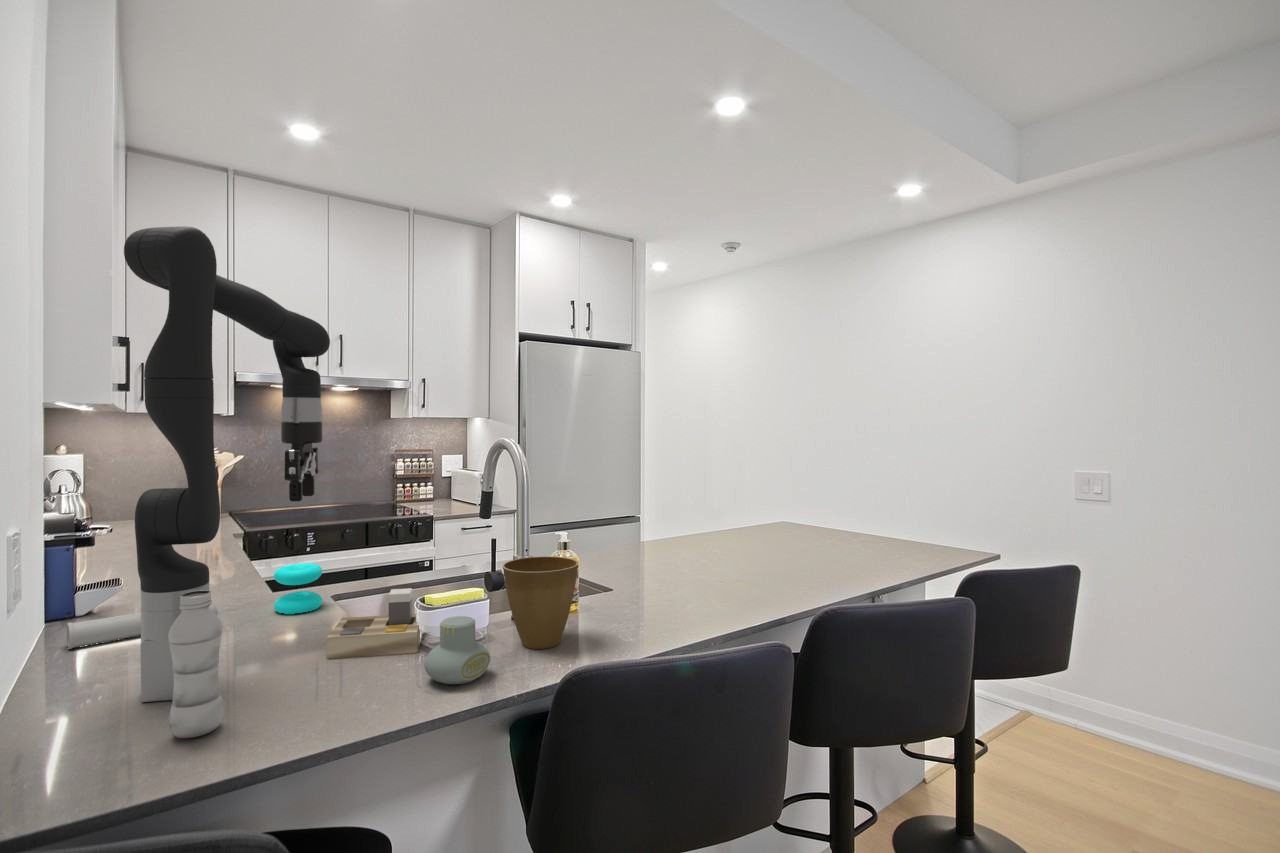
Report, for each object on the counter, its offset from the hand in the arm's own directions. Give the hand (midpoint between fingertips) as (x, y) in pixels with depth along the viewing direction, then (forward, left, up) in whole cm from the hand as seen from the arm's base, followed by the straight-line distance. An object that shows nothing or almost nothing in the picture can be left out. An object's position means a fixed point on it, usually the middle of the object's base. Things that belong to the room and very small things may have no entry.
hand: (302, 498), depth 135 cm
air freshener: (-30, -33, -28) cm, 53 cm away
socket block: (-10, -17, -28) cm, 34 cm away
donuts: (+19, +6, -28) cm, 35 cm away
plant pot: (-15, -48, -28) cm, 58 cm away
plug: (-8, -20, -28) cm, 36 cm away
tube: (+6, +31, -29) cm, 43 cm away
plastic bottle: (-43, +2, -28) cm, 52 cm away
